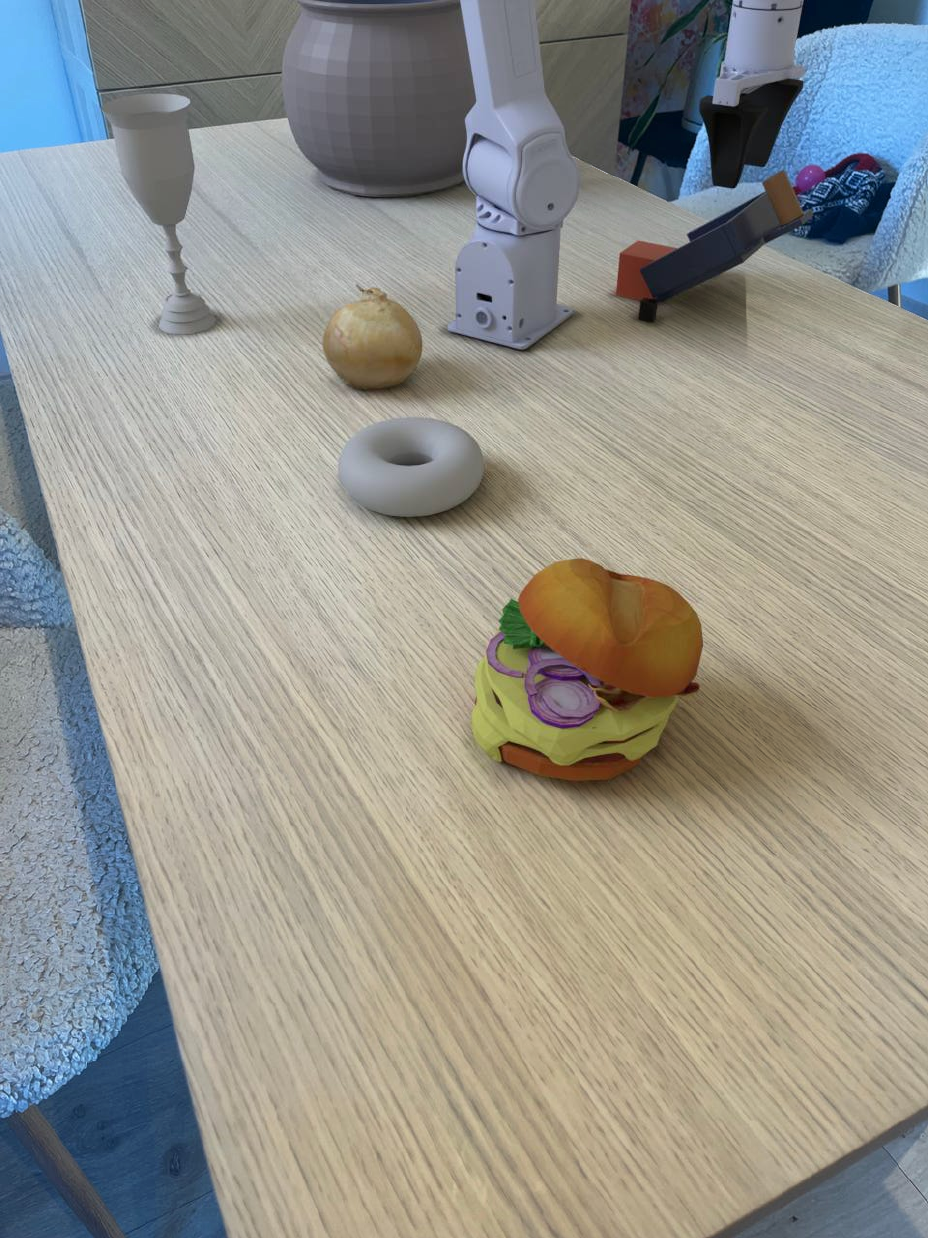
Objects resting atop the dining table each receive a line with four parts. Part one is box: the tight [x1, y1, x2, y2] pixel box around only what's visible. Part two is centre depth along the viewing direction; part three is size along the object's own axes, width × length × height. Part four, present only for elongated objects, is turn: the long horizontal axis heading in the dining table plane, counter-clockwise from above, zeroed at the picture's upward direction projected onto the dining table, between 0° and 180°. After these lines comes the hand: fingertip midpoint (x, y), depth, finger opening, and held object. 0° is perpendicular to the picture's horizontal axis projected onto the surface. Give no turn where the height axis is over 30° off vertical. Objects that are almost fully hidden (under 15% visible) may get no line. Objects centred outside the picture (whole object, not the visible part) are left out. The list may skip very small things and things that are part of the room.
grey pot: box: [281, 0, 476, 198], centre depth 119 cm, size 25×25×20 cm
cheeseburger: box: [470, 557, 704, 782], centre depth 50 cm, size 10×11×10 cm
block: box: [615, 240, 678, 302], centre depth 95 cm, size 4×4×4 cm
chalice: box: [100, 93, 217, 335], centre depth 86 cm, size 7×7×18 cm
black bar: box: [637, 298, 659, 323], centre depth 95 cm, size 14×1×2 cm, turn 148°
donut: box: [337, 416, 486, 518], centre depth 69 cm, size 10×4×10 cm
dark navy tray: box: [639, 169, 814, 305], centre depth 90 cm, size 12×14×5 cm
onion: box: [321, 283, 424, 391], centre depth 80 cm, size 8×8×7 cm
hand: (739, 175), depth 93 cm, fingers open, 7 cm apart
